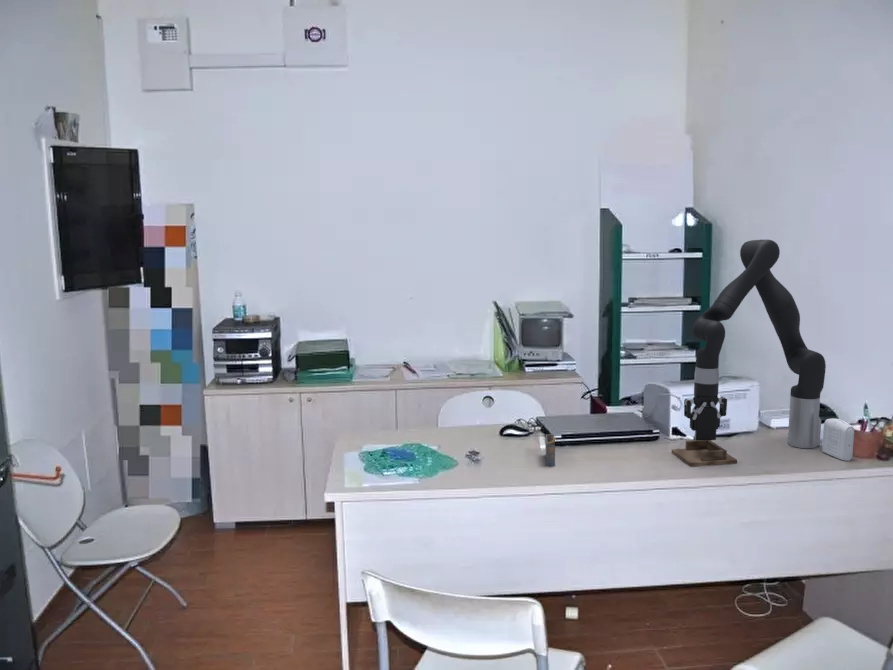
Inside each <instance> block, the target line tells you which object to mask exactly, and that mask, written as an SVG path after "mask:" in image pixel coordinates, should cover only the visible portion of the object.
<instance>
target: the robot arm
mask: <svg viewBox="0 0 893 670" xmlns="http://www.w3.org/2000/svg"><path fill="white" fill-rule="evenodd" d="M739 253H740V254H739V257H740V260H741V262H742V264H743V266H744V270H743V271H742V272H741V273H740V274H739V275H738V276H737V277H735V278H734V279H733V280H732V281H731V282H730V283H728V284H727V285H726V286H725V287H724V288H723V289H722V290H721V292H720V293H719V294H718V296H717V298H716V299H715V300H714V302H713V303H712V305H711V306H710V307H709V308H707V309H706V310H705V311H704V312H703V313H702V314H700V315H699V316H698V317H697V319H696V320H695V321H694V323H693V326H692V329H691V333H692V336H693V338H695V339H696V340H699V341H703V342H705V346H704V347H701V348H699V349H697V350H696V352H695V353H696V354H695V370H694V381H693V382H694V385H693V398H692V399H687V398H685V399H684V400H683V401H684V402H683V416H684V417H686V419H689V428H690V429H691V431H693V432H695V431H696V420H695V419H696V418H697V414H700V413H701V411H702V410H703V408H704V407H708V406H711V407H715V408H716V409H717V429H716V430H718V429H719V428H720V427H721V418H722V417H726V415H727V409H728V399H727V398H726V397H724V396H721V397H719V384H720V383H719V382H720V371H719V370H720V369H719V361H720V353H721V350H722V347H723V344H724V341H725V338H726V329H725V325H724V324H723V323H722V321H728V320H730V319H731V318H732V317H733V315H734V314H735V312H736V311H737V309H738V308H739V306H740V305H741V303H742V302H743V301H744V299H745V298H746V297H747V295H748V294H749V293H750V291H752V289H754V287H755V288H756V290H757V292H758V295H759V296H760V299H761V301H762V304H763V306H764V308H765V310H766V313H767V316H768V318H769V320H770V321H771V324H772V325H773V328H774V330H775V333H776V336H777V337H778V339H779V342H780V344H781V347H782V350H783V354H784V357H785V360H786V363H787V366H788V368H789V370H790V371H791V372H793V373H794V374H796V375H797V376H798V381H797V384H796V385H792V386H791V388H790V396H789V397H790V398H789V413H788V416H789V417H788V432H787V444H788V445H789V446H792V447H794V448H800V449H813V448H816V447H820V446H821V435H822V434H821V432H822V430H821V429H822V419H821V418H820V406H821V405H820V404H821V403H820V402H821V394H822V391H823V389H824V384H825V378H826V377H825V376H826V368H827V367H826V366H827V365H826V359H825V357H824V356H823V355H822V353H820V352H818V351H815V350H811V349H809V348H808V347H807V345H806V343H805V342H804V339H803V337H802V334H801V331H800V330H801V329H800V326H801V325H800V324H801V314H800V311H799V307H798V305H797V304H796V301H795V298H794V297H793V295H792V294H791V293H790V291H789V290H788V289H787V288H786V287H785V286H784V285H783V284H782V283H781V282H780V281H779V280H778V279H777V278H776V277H775V275H774V274H773V273H772V271H771V269H772V268H773V267H774V265H775V264H776V263H777V262H778V260H779V258H780V253H781V252H780V247H779V245H778V243H777V242H776V241H774V240H772V239H752V240H748V241H746V242H745V241H744V243H743V244H742V245H741V247H740V250H739ZM718 404H719V410H718V408H717V405H718ZM693 405H694V406H693ZM692 406H693V407H692ZM696 407H697V408H698V410H695V408H696Z"/></svg>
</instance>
